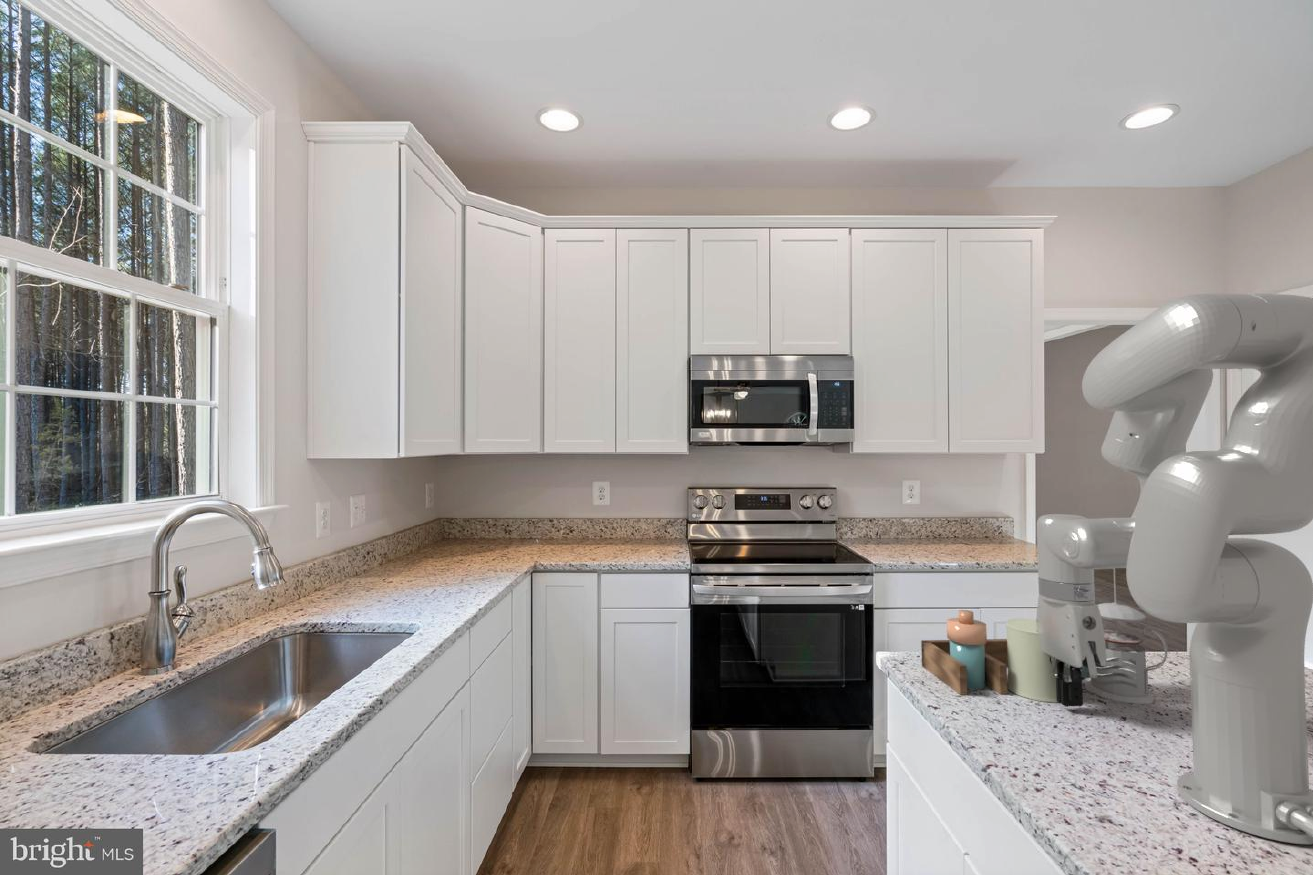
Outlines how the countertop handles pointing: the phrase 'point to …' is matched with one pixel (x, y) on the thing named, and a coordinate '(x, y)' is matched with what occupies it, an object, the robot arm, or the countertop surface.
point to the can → (1028, 663)
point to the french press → (1124, 659)
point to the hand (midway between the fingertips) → (1069, 703)
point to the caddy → (956, 672)
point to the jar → (971, 662)
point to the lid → (966, 629)
